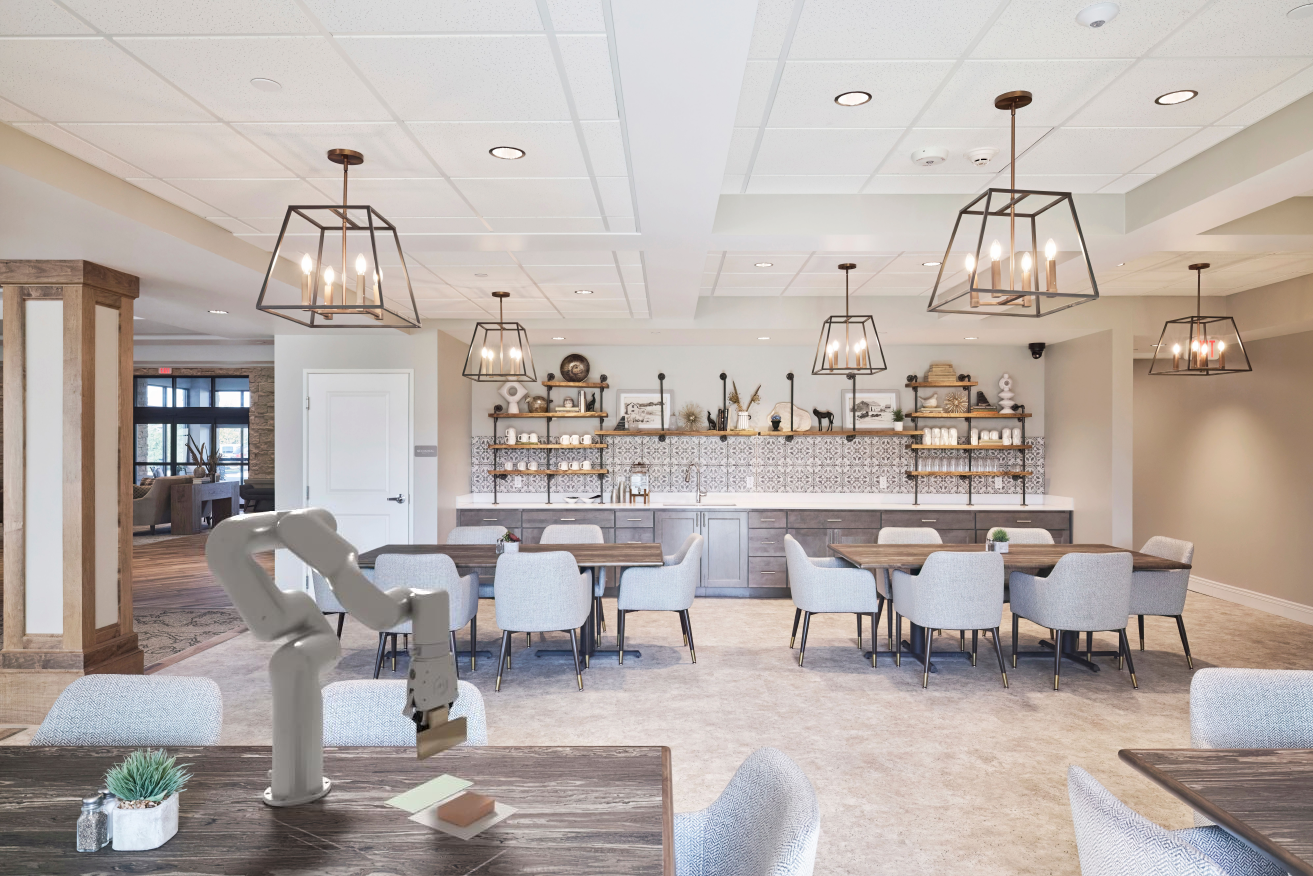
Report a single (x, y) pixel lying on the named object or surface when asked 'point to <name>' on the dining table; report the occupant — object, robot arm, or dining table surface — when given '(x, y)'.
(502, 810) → the mat
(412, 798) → the pad
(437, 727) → the stepped beige block
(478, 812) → the tile
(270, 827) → the dining table surface
